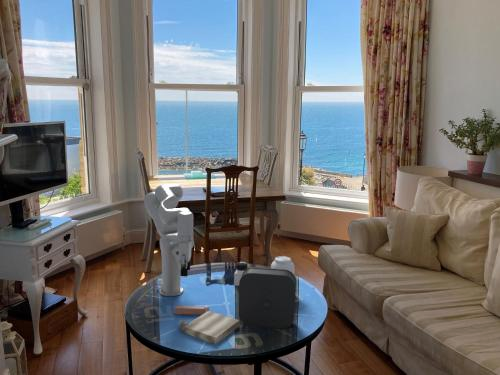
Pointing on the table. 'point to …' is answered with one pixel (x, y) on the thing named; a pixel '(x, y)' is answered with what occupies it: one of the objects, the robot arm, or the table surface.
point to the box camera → (239, 272)
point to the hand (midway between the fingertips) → (185, 272)
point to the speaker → (267, 297)
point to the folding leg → (191, 310)
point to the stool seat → (210, 327)
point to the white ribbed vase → (283, 264)
